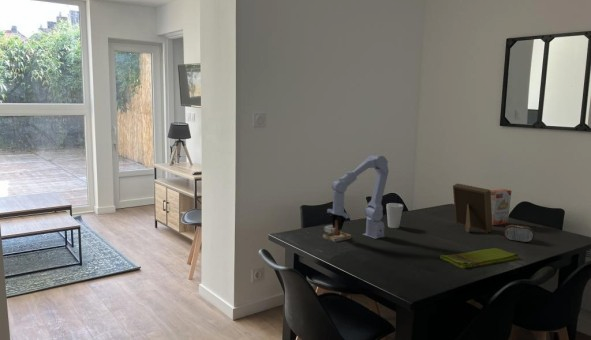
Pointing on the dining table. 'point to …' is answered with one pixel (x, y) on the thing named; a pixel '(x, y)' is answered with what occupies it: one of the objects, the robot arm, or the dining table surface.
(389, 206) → the foam cup
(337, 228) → the pin
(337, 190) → the robot arm
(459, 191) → the photo frame
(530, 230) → the tin
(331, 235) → the tray
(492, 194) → the cracker box
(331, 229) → the gray square open box
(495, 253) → the dish towel
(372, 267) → the dining table surface
